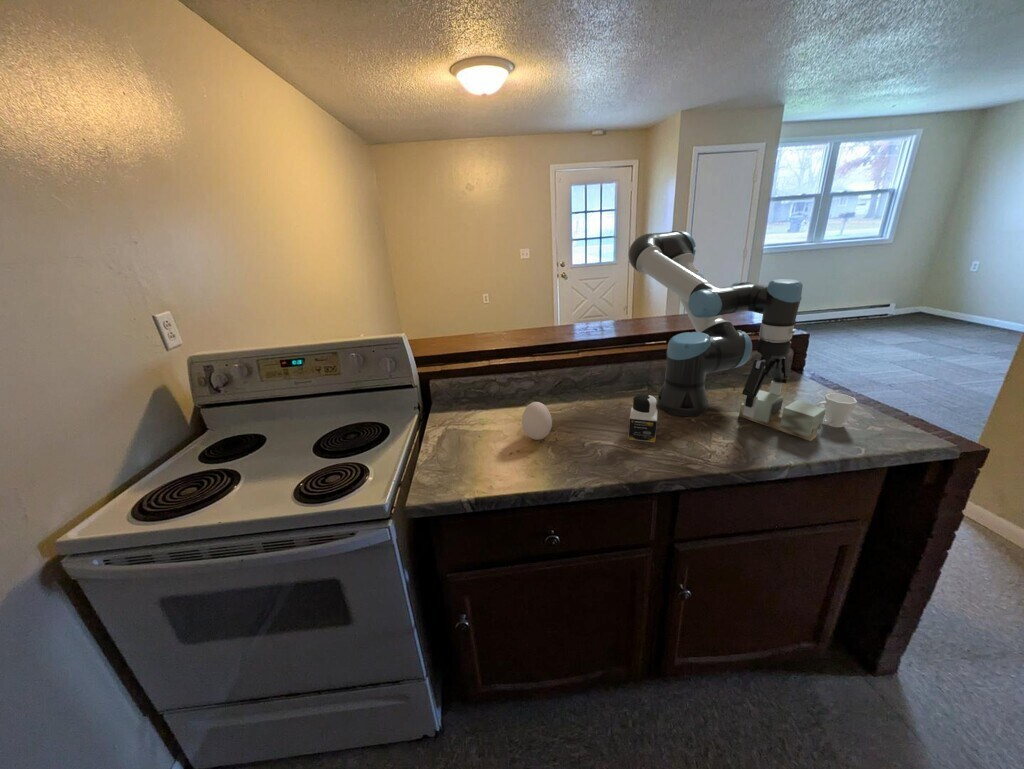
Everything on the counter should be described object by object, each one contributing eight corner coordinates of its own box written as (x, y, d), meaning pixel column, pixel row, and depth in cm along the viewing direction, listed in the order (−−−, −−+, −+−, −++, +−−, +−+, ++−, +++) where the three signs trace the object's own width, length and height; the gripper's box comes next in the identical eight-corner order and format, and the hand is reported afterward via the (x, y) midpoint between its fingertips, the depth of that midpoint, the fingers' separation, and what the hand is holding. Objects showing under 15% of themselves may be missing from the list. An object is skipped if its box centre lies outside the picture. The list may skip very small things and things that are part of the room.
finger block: (742, 414, 117) (745, 395, 114) (754, 407, 120) (757, 389, 118) (768, 423, 111) (772, 404, 109) (780, 415, 114) (785, 397, 112)
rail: (735, 418, 119) (739, 393, 116) (747, 411, 122) (752, 387, 119) (807, 443, 104) (814, 416, 101) (818, 435, 107) (826, 408, 104)
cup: (856, 429, 109) (864, 403, 106) (817, 430, 110) (824, 404, 106) (837, 417, 115) (845, 392, 112) (802, 418, 116) (808, 393, 113)
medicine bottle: (628, 439, 112) (630, 401, 107) (630, 427, 118) (632, 390, 113) (655, 443, 109) (658, 403, 104) (655, 430, 115) (659, 393, 111)
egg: (518, 443, 113) (516, 407, 109) (528, 429, 121) (526, 395, 116) (547, 447, 110) (546, 411, 106) (555, 432, 118) (555, 397, 113)
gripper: (765, 352, 98) (751, 427, 106) (811, 332, 110) (795, 400, 118) (735, 345, 104) (724, 417, 112) (782, 327, 116) (768, 393, 124)
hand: (760, 409), depth 115 cm, fingers open, 13 cm apart
